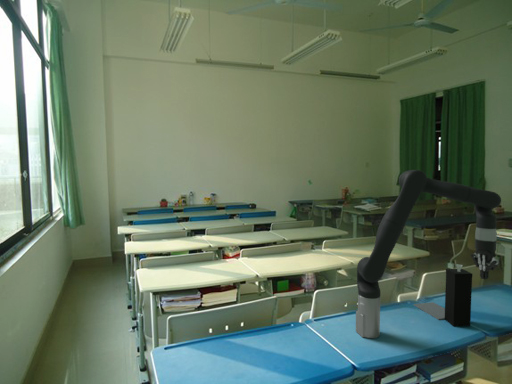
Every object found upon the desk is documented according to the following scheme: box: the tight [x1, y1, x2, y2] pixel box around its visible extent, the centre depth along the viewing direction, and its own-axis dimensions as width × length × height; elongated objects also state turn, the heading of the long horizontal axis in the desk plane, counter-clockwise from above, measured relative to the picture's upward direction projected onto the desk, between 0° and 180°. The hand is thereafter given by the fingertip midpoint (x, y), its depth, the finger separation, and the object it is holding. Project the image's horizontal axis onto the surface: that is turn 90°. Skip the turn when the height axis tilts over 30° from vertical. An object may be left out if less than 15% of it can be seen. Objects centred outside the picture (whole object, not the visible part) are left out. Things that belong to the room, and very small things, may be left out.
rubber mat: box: [413, 301, 445, 321], centre depth 175 cm, size 12×18×1 cm, turn 12°
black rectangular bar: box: [444, 263, 473, 327], centre depth 160 cm, size 8×8×28 cm
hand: (484, 278), depth 146 cm, fingers closed
